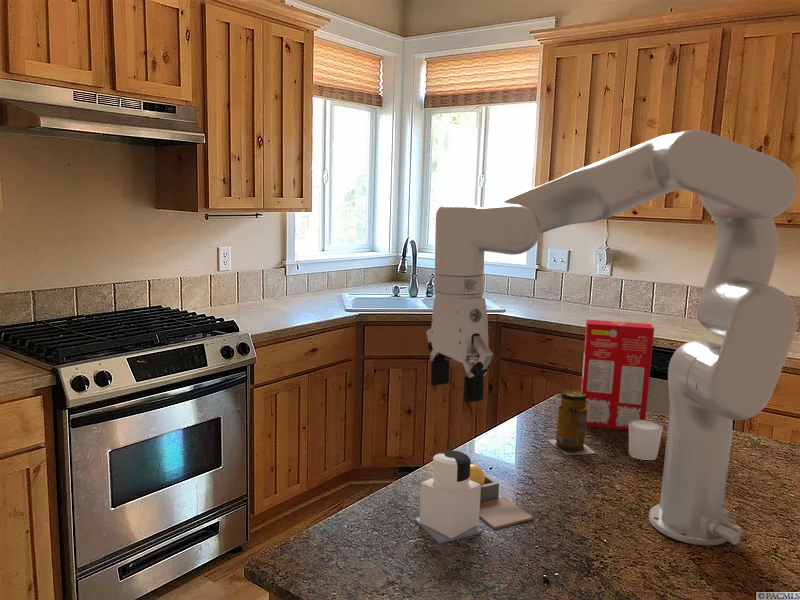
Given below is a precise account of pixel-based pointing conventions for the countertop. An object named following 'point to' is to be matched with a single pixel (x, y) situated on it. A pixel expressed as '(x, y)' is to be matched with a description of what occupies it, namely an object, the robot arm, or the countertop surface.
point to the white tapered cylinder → (644, 439)
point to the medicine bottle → (450, 495)
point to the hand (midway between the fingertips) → (455, 392)
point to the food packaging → (616, 372)
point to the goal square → (442, 538)
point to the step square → (502, 513)
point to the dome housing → (489, 489)
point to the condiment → (572, 424)
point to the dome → (477, 474)
